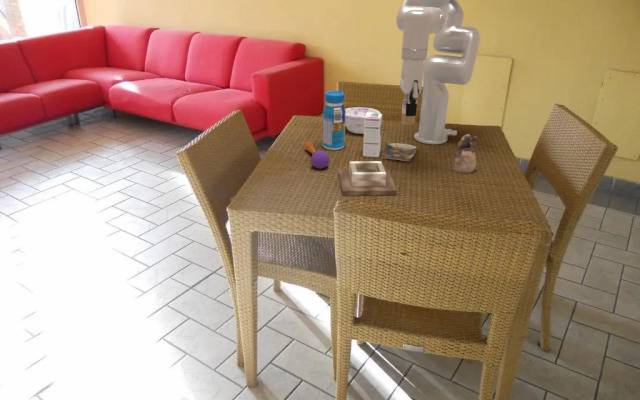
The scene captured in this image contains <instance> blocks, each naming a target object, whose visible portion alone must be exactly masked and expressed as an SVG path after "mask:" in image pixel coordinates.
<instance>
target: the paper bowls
mask: <svg viewBox="0 0 640 400" xmlns="http://www.w3.org/2000/svg"><path fill="white" fill-rule="evenodd" d="M345 110H346V114H345V117H346V122H345V128H346V129H347V131H348V132H351V133H353V134H356V135H357V134H358V135H364V117H365V115H366V113H370V112H374V113H381V111H379V110H378V109H376V108H371V107H363V106H362V107H360V106H357V107H356V106H355V107H348V108H345Z"/></svg>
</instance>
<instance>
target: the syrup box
mask: <svg viewBox="0 0 640 400" xmlns="http://www.w3.org/2000/svg"><path fill="white" fill-rule="evenodd" d="M382 125H383V113H381V112H380V113H374V112H370V113H366V115H365V117H364V134H363V141H362V142H363V145H362V146H363V147H362V149H363V150H362V156H363V157H366V158H367V157H369V158H379V157H380V154H381V151H382V150H381V146H382Z"/></svg>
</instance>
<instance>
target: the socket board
mask: <svg viewBox="0 0 640 400" xmlns="http://www.w3.org/2000/svg"><path fill="white" fill-rule="evenodd" d="M348 162H349V164H348V168H346V169H343V168H342V169H338V177H339V181H340V188H341V192H342V197H344V196H347V197H348V196H353V197H354V196H356V197H357V196H397V195H398V189H397V187H396V185H395V182H394V179H393V176H392V175H391V173H390V171H389V168H385V167H384V165H383V162H382V161H381V160H380V161H379V160H376V161H375V160H374V161H373V160H369V161H368V160H366V161H365V160H363V161H361V160H359V161H357V160H356V161H354V160H353V161H348Z"/></svg>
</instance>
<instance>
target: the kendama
mask: <svg viewBox="0 0 640 400" xmlns="http://www.w3.org/2000/svg"><path fill="white" fill-rule="evenodd" d="M303 147H304V149H305V150H306V151H308V152H309V153H311V154H312V155H311V158H310V159H311V160H310V162H311V164H312V166H313V167H314V168H316V169H319V170H320V169H322V170H323V169H324V168H326V167H327V166H328V165H329V163H330V157H329V155H328V153H327V152H325V151H323V150H316V148H315V145H314V143H313V142H312V141H306V142H305V143H304V145H303Z"/></svg>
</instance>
